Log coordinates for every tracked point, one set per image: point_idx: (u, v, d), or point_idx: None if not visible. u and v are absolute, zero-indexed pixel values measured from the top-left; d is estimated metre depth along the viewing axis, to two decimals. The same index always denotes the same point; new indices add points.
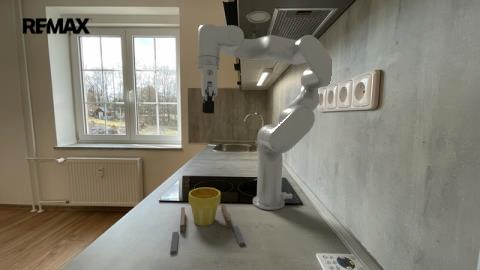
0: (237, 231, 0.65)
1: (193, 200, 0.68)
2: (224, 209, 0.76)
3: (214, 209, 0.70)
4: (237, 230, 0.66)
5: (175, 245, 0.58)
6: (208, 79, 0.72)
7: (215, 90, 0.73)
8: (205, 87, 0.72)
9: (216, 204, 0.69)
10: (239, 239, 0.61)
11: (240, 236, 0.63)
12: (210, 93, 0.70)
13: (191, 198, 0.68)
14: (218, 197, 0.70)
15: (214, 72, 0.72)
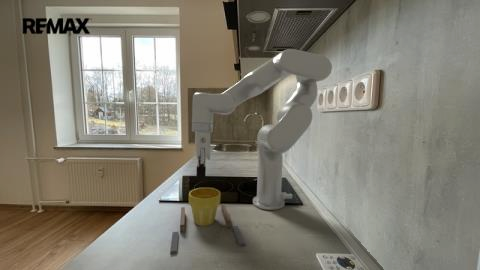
0: (237, 231, 0.65)
1: (193, 200, 0.68)
2: (224, 209, 0.76)
3: (214, 209, 0.70)
4: (237, 230, 0.66)
5: (175, 245, 0.58)
6: (201, 146, 0.75)
7: (208, 155, 0.76)
8: (198, 158, 0.76)
9: (216, 204, 0.69)
10: (239, 239, 0.61)
11: (240, 236, 0.63)
12: (202, 164, 0.77)
13: (191, 198, 0.68)
14: (218, 197, 0.70)
15: (207, 139, 0.75)
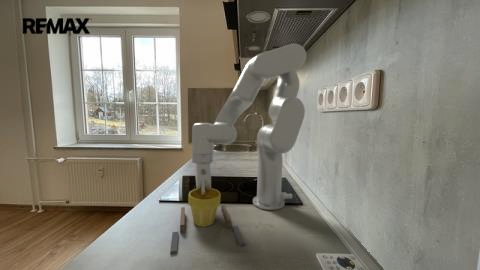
0: (237, 231, 0.65)
1: (193, 201, 0.67)
2: (224, 209, 0.76)
3: (214, 210, 0.69)
4: (237, 230, 0.66)
5: (175, 245, 0.58)
6: (201, 178, 0.74)
7: (208, 187, 0.75)
8: (198, 190, 0.75)
9: (216, 205, 0.69)
10: (239, 239, 0.61)
11: (240, 236, 0.63)
12: None
13: (191, 199, 0.67)
14: (218, 198, 0.69)
15: (207, 170, 0.74)
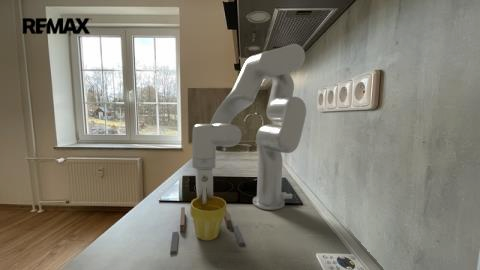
0: (237, 231, 0.65)
1: (198, 213, 0.59)
2: None
3: (221, 221, 0.63)
4: (237, 230, 0.66)
5: (175, 245, 0.58)
6: (203, 185, 0.66)
7: (210, 195, 0.67)
8: None
9: (223, 215, 0.62)
10: (239, 239, 0.61)
11: (240, 236, 0.63)
12: None
13: (195, 211, 0.60)
14: (225, 207, 0.63)
15: (209, 177, 0.67)
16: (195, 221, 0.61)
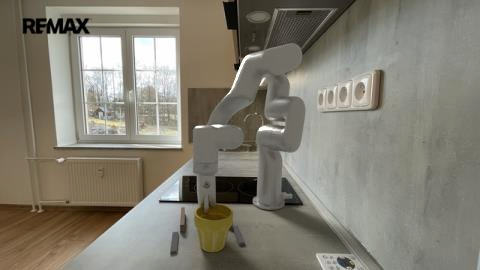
0: (237, 231, 0.65)
1: (206, 224, 0.54)
2: None
3: (228, 230, 0.58)
4: (237, 230, 0.66)
5: (175, 245, 0.58)
6: (204, 192, 0.61)
7: (213, 203, 0.62)
8: None
9: (231, 223, 0.58)
10: (239, 239, 0.61)
11: (240, 236, 0.63)
12: None
13: (202, 221, 0.54)
14: (232, 215, 0.58)
15: (212, 183, 0.61)
16: (201, 232, 0.56)
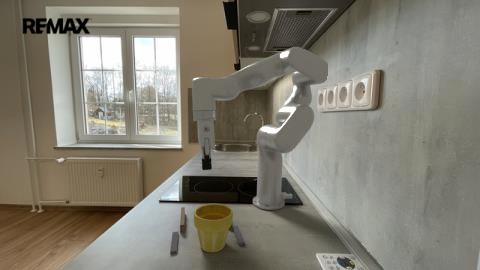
0: (237, 231, 0.65)
1: (205, 223, 0.54)
2: None
3: (228, 229, 0.58)
4: (237, 230, 0.66)
5: (175, 245, 0.58)
6: (205, 135, 0.69)
7: (213, 146, 0.70)
8: (202, 150, 0.70)
9: (231, 223, 0.58)
10: (239, 239, 0.61)
11: (240, 236, 0.63)
12: (207, 155, 0.71)
13: (202, 221, 0.54)
14: (232, 214, 0.58)
15: (211, 127, 0.69)
16: (201, 232, 0.56)
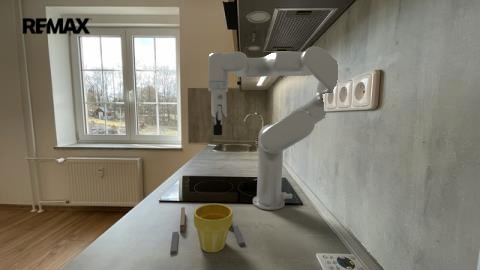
0: (237, 231, 0.65)
1: (205, 223, 0.54)
2: None
3: (228, 229, 0.58)
4: (237, 230, 0.66)
5: (175, 245, 0.58)
6: (218, 102, 0.79)
7: (224, 112, 0.80)
8: (215, 115, 0.81)
9: (231, 223, 0.58)
10: (239, 239, 0.61)
11: (240, 236, 0.63)
12: (219, 121, 0.82)
13: (202, 221, 0.54)
14: (232, 214, 0.58)
15: (223, 96, 0.80)
16: (201, 232, 0.56)
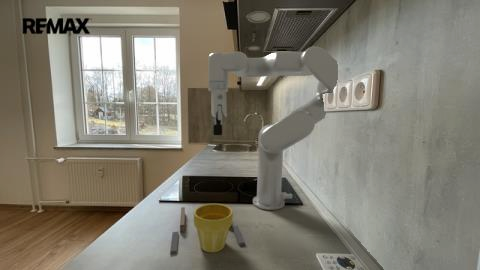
0: (237, 231, 0.65)
1: (205, 223, 0.54)
2: None
3: (228, 229, 0.58)
4: (237, 230, 0.66)
5: (175, 245, 0.58)
6: (218, 102, 0.79)
7: (224, 112, 0.80)
8: (215, 115, 0.81)
9: (231, 223, 0.58)
10: (239, 239, 0.61)
11: (240, 236, 0.63)
12: (219, 120, 0.82)
13: (202, 221, 0.54)
14: (232, 214, 0.58)
15: (223, 96, 0.80)
16: (201, 232, 0.56)
